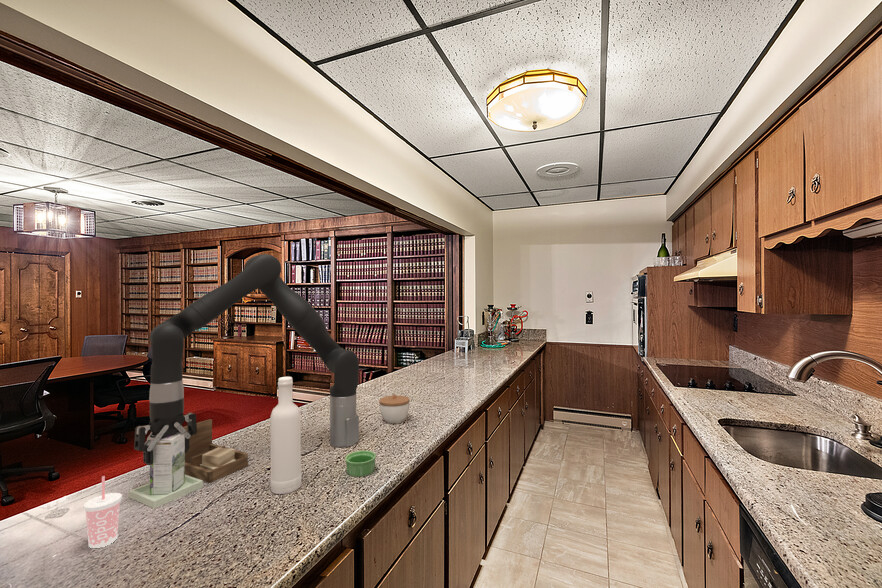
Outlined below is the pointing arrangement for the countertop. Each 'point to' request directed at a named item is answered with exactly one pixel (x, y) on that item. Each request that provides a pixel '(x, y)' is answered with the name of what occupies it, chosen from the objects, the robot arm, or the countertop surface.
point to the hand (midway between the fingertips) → (167, 458)
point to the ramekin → (360, 463)
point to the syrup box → (168, 465)
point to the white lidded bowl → (394, 408)
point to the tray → (157, 500)
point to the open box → (203, 445)
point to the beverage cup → (102, 518)
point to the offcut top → (218, 457)
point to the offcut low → (212, 466)
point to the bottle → (285, 441)
